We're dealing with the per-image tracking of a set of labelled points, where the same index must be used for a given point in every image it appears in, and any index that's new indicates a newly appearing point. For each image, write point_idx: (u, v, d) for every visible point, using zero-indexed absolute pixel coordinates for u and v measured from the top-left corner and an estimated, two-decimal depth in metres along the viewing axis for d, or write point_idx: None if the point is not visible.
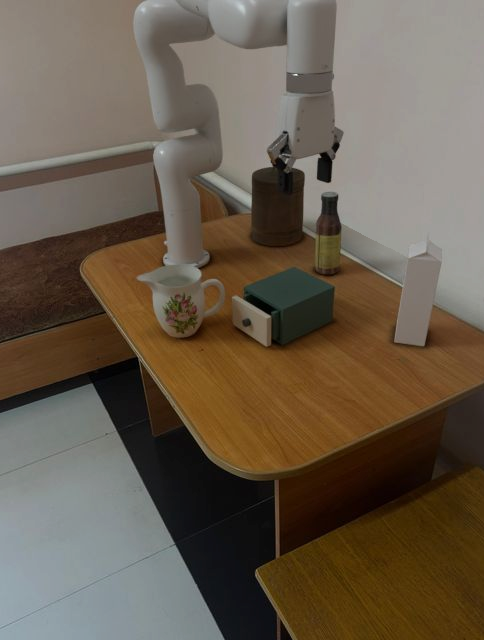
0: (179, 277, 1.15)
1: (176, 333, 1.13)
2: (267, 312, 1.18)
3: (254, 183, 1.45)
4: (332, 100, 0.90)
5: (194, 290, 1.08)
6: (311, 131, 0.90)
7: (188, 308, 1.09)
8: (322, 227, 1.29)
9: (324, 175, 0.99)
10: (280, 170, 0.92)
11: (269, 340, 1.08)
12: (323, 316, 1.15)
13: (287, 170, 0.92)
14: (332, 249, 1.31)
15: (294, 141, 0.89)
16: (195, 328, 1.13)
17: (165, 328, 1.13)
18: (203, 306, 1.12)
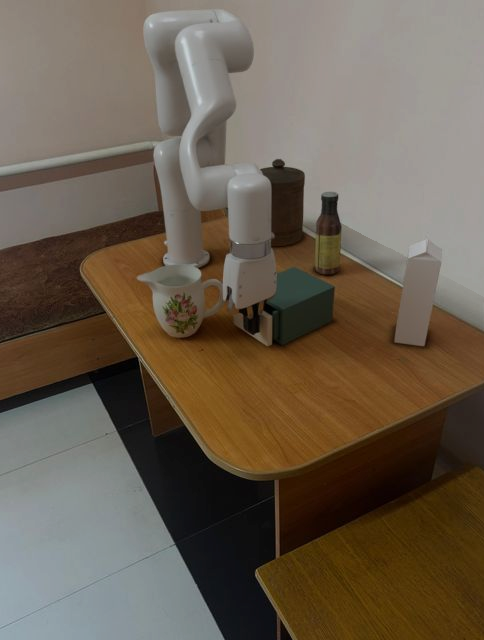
0: (179, 277, 1.15)
1: (176, 333, 1.13)
2: (268, 312, 1.18)
3: None
4: (272, 258, 0.99)
5: (194, 290, 1.08)
6: (253, 286, 0.98)
7: (188, 308, 1.09)
8: (322, 227, 1.29)
9: None
10: (244, 315, 1.04)
11: (270, 340, 1.09)
12: (323, 316, 1.15)
13: (250, 316, 1.03)
14: (332, 249, 1.31)
15: (237, 296, 0.98)
16: (195, 328, 1.13)
17: (165, 328, 1.13)
18: (203, 306, 1.12)
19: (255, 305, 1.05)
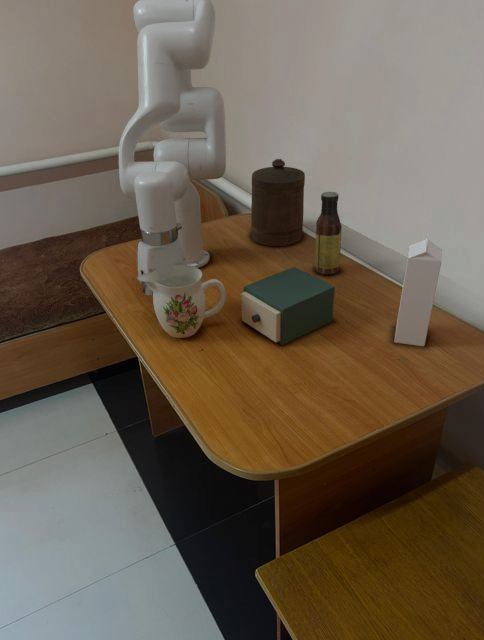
0: (179, 278, 1.15)
1: (176, 333, 1.13)
2: None
3: (254, 183, 1.45)
4: (180, 245, 1.13)
5: (194, 290, 1.08)
6: (163, 270, 1.13)
7: (188, 309, 1.09)
8: (322, 227, 1.29)
9: None
10: None
11: (278, 336, 1.10)
12: (323, 316, 1.15)
13: None
14: (332, 249, 1.31)
15: None
16: (195, 328, 1.13)
17: (165, 328, 1.13)
18: (203, 306, 1.12)
19: None
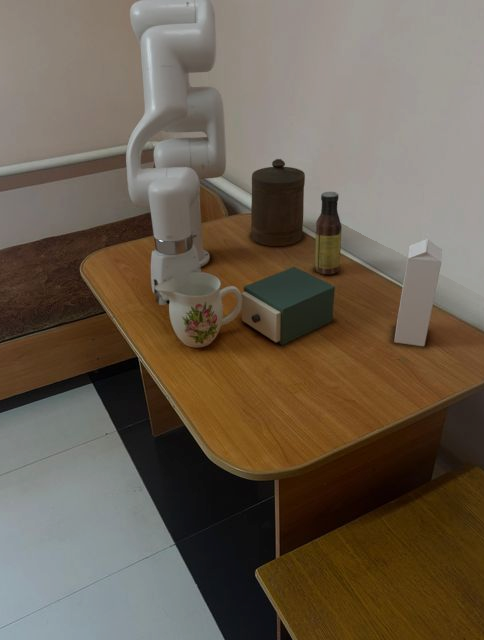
0: (193, 285, 1.12)
1: (194, 343, 1.09)
2: None
3: (254, 183, 1.45)
4: (195, 254, 1.09)
5: (214, 298, 1.05)
6: (177, 279, 1.09)
7: (209, 318, 1.05)
8: (322, 227, 1.29)
9: None
10: None
11: (278, 336, 1.10)
12: (323, 316, 1.15)
13: None
14: (332, 249, 1.31)
15: None
16: (213, 337, 1.10)
17: (183, 338, 1.09)
18: (222, 314, 1.09)
19: None
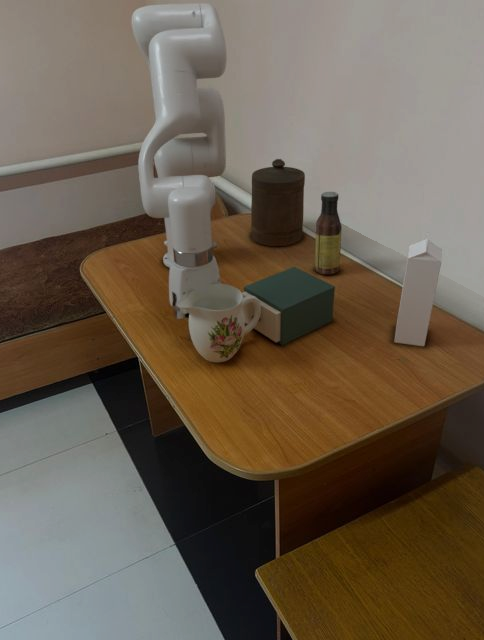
0: (209, 298, 1.07)
1: (219, 358, 1.05)
2: None
3: (254, 183, 1.45)
4: (215, 265, 1.05)
5: (239, 310, 1.01)
6: (196, 292, 1.04)
7: (234, 331, 1.01)
8: (322, 227, 1.29)
9: None
10: None
11: (278, 336, 1.10)
12: (323, 316, 1.15)
13: None
14: (332, 249, 1.31)
15: None
16: (237, 350, 1.06)
17: (207, 355, 1.04)
18: None
19: None
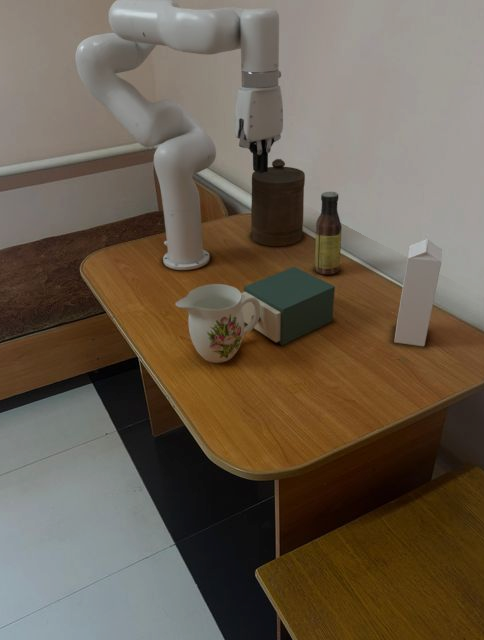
0: (209, 298, 1.07)
1: (219, 358, 1.05)
2: None
3: (254, 183, 1.45)
4: (279, 94, 1.11)
5: (238, 309, 1.01)
6: (262, 119, 1.11)
7: (234, 330, 1.01)
8: (322, 227, 1.29)
9: None
10: (254, 153, 1.16)
11: (278, 336, 1.10)
12: (323, 316, 1.15)
13: (259, 153, 1.16)
14: (332, 249, 1.31)
15: (248, 127, 1.10)
16: (237, 350, 1.06)
17: (207, 355, 1.04)
18: None
19: (264, 145, 1.17)
